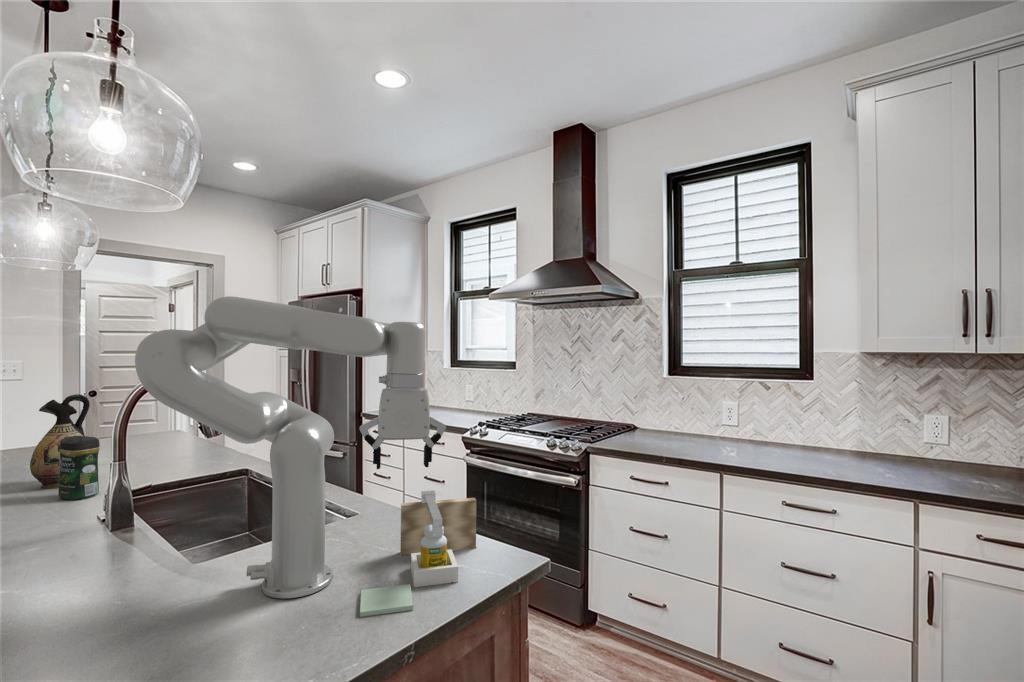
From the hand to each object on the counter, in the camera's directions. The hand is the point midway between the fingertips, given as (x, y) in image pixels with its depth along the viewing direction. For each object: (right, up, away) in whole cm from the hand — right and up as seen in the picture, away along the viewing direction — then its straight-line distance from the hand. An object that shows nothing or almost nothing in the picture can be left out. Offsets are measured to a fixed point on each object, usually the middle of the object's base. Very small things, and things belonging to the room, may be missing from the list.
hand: (402, 466), depth 98 cm
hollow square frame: (+6, -22, 0) cm, 23 cm away
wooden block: (+5, -22, +13) cm, 26 cm away
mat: (-1, -22, -10) cm, 24 cm away
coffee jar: (-110, -22, +50) cm, 123 cm away
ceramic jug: (-127, -22, +63) cm, 143 cm away
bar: (+5, -12, +4) cm, 14 cm away
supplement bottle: (+6, -22, 0) cm, 23 cm away
